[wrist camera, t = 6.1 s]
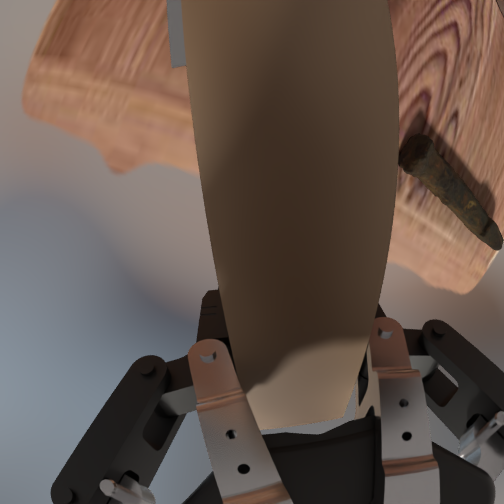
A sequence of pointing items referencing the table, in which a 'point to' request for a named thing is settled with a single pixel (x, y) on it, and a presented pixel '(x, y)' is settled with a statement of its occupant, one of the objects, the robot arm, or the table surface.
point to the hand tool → (448, 188)
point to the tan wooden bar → (296, 188)
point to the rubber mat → (176, 33)
